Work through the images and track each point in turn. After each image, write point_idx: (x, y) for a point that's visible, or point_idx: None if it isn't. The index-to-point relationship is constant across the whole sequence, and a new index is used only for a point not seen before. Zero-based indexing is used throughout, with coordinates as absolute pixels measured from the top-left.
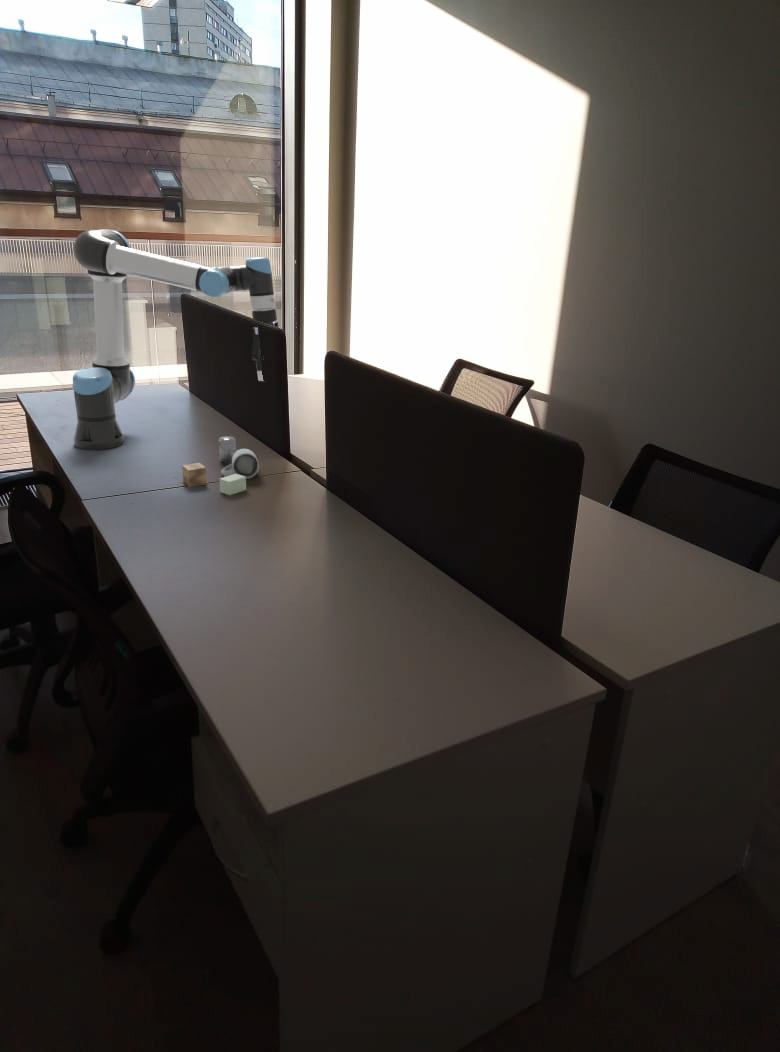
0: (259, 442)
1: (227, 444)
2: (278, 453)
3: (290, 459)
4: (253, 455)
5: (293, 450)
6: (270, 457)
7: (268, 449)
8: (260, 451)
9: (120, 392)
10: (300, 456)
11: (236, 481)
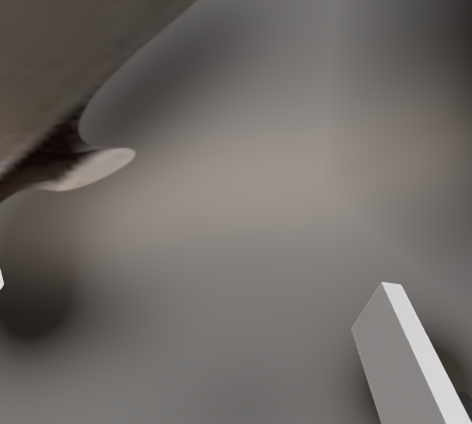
0: (185, 2)
1: None
2: (74, 114)
3: (35, 161)
4: None
5: (130, 153)
6: (16, 98)
7: (103, 68)
8: (63, 41)
9: None
10: (79, 182)
11: None
